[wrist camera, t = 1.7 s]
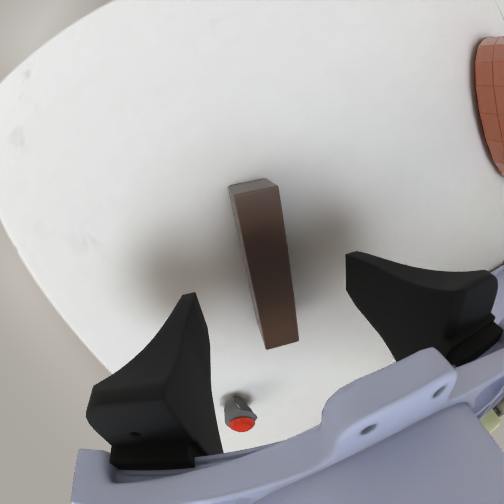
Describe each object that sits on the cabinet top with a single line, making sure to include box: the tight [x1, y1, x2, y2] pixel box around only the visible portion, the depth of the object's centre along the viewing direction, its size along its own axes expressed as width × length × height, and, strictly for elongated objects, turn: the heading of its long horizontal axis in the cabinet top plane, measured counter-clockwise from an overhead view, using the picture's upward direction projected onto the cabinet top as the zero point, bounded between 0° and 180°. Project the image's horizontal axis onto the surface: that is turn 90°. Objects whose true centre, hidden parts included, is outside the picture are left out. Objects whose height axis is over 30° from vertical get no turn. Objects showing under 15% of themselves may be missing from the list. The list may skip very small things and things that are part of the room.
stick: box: [228, 178, 299, 350], centre depth 15 cm, size 9×2×2 cm, turn 10°
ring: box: [224, 397, 257, 432], centre depth 19 cm, size 2×3×3 cm
